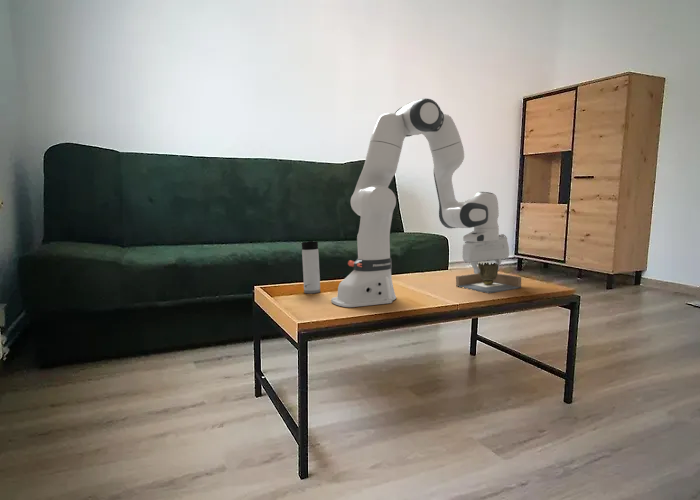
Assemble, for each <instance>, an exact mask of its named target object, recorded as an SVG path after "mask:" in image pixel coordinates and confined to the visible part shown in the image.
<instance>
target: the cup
mask: <svg viewBox="0 0 700 500" xmlns="http://www.w3.org/2000/svg"><path fill="white" fill-rule="evenodd" d="M498 265H499V264H498ZM498 265H497V263H496V262H490V263H489V262H488V261H487V262H484V263H483V262H481V263H480V262H478V265H477V267H478V269H480V273H479V275H480V278H481V279H482V280H484V281H483V283H484V284H485V285H492V284H493V280H494V279H496V277H497V273H498ZM498 274H499V273H498Z"/></svg>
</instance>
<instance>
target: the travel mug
mask: <svg viewBox="0 0 700 500" xmlns="http://www.w3.org/2000/svg"><path fill="white" fill-rule="evenodd" d="M301 255H302V257H301V258H302V259H301V260H302V275H303V277H302V278H303V292H304V294H307V295H310V294H319V293H320V292H321V277H320V276H321V275H320V257H319V256H320V255H319V242H318V241H314V240H308V241H303V242H301Z"/></svg>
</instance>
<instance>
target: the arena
mask: <svg viewBox="0 0 700 500" xmlns="http://www.w3.org/2000/svg"><path fill="white" fill-rule="evenodd" d="M483 281H484V280H482V279H481V278H480V275H479V273H478V274H475V273H470V274H469V273H468V274H462V275H461V274H460V275H456V276H455V286H459V287H458V288H461V287H464V288H463V289H466V288H468V289H467V290H470V289H472V290H471V291H475V290H476V292H481V293H484V292H485V294H492V293H498V292H505V291H510V290H511V291H512V290H517V289H522V276H517V275H511V274H505V273H504V274H503V273H497V277H496V279H494V280H493V284H492V285H485V284H484V283H483Z"/></svg>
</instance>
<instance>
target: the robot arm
mask: <svg viewBox="0 0 700 500" xmlns="http://www.w3.org/2000/svg"><path fill="white" fill-rule="evenodd" d="M418 135H423V136H424V138H425V139H426V140H427V142H428V147H429V150H430V154H431V157H432V161H433V179H434V184H435V189H436V194H437V198H438V205H439V206H438V207H439V208H438V218H439V222H440V223H441V225H443V226H444V227H445V228H446V229H472V228H473V230H472V231H471V232H469V233H467V234H465V235H463V238H462V240H463V241H464V242H463V245H462V260H463V262H466V263H471V266H472V268H473V274H478V273H480V269H478V264H479V262H484V261H485V262H486V261H487V262H488V261H494V262H495V263H497V265H498V264H499V265H498V271H499V270H500V266H501V263H502V259H508V258H509V256H510V247H509V242H508V236H506V235H505V234H504V233H503V234H502V233H501V234H499V231H500V230H499V223H498V221H499V220H498V219H499V214H500V213H499V211H500V209H499V201H498V200H499V199H498V197H497V195H496V194H495V193H493V192H491V191H490V192H489V191H488V192H487V191H477V192H476V193H475V194H474V195H473V196H472V197H471V198H470V197H469V199H467V200H465V201H458V200H457V199H456V196H455V191H454V187H453V185H454V184H453V181H452V180H453V175H454V173H455V171H457V170H458V169H459V168H460V167H461V165H463V164H462V163H463V162H464V159H465V151H464V145H463V142H462V138H461V135H460V132H459V130H458V128H457V125H456V123H455V121H454V120H453V118H452V116H450V115H449V114H445V113H444V112H443V111H442V109H441V107H440V105H439V104H438V103H437V102H436V101H435V100H433V99H431V98H425V97H424V98H420V99H417V100H415V101H411V102H408V103H406V104H405V105H403V106H401V107H399V108H397V110H396V111H395V112H387V113H386V112H385V113H383V114H381V115H380V116H379V117H378V119H377V120H376V123H375V126H374V128H373V130H372V134H371V137H370V141H369V144H368V148H367V152H366V156H365V160H364V164H363V168H362V170H361V173H360V174H359V177H358V180H357V181H356V185H355V188H354V191H353V194H352V195H351V197H350V206H351V210H352V211H353V212H354V213H355V214H356V215H357V216H360V218H359V220H360V221H359V228H358V233H357V235H356V236H357V237H356V243H357V258H356V260H355V261H354V260H351V259H350V260H348V261H347V265H348V266H349V267H352V268H353V270H352V271H351V272H349V274H348V275H347V276H346V277H345V278H343V280H342V281H340V282H339V284H338V287H337V294H336V295H337V296H333V297H331V301H330V302H331V303H332V304H334V305H336V306H339V307H344V308H355V307H367V306H374V305H385V304H392V303H393V301H395V300H396V299H397V295H396V293H395V289H394V288H395V287H394V284H393V278H392V277H393V276H392V270H393V266H392V257H391V248H390V247H391V246H390V245H391V243H390V242H391V241H390V237H391V234H390V233H391V227H392V221H393V220H392V219H393V215H394V214H393V213H394V209H395V207H396V205H397V198H396V195H395V193H394V192H393V190H392V189H390V188H389V186H390V184H391V182H392V180H393V178H394V176H395V175H396V173H397V170H398V166H399V162H400V157H401V153H402V150H403V149H402V148H403V143H404V141H405V138H406V137H412V136H418Z"/></svg>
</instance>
